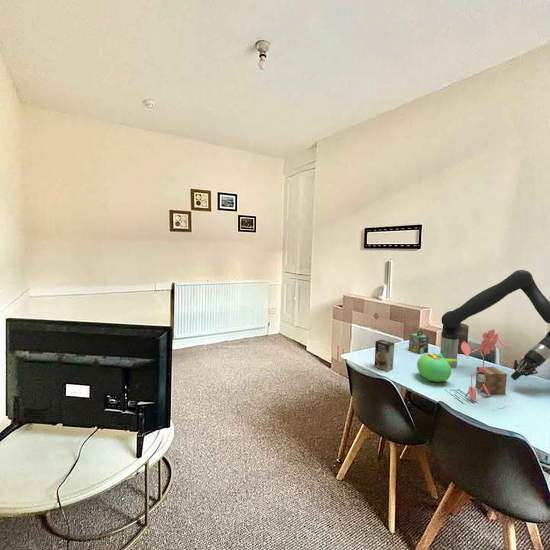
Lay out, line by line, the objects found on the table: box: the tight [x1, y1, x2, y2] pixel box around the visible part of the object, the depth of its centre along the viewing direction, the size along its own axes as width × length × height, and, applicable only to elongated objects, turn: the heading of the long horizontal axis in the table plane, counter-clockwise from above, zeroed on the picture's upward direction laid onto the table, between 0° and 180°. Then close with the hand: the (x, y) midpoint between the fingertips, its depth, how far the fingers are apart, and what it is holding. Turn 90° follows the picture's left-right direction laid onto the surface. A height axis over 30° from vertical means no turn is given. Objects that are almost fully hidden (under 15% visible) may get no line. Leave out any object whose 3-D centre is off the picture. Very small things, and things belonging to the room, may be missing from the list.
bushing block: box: [474, 366, 508, 396], centre depth 160 cm, size 9×9×11 cm
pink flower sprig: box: [456, 328, 508, 410], centre depth 147 cm, size 15×26×35 cm, turn 113°
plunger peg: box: [477, 374, 486, 382], centre depth 160 cm, size 12×6×6 cm, turn 92°
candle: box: [457, 322, 469, 354], centre depth 216 cm, size 8×7×20 cm
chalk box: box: [408, 330, 430, 355], centre depth 218 cm, size 9×9×15 cm
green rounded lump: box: [416, 352, 459, 383], centre depth 172 cm, size 18×17×15 cm
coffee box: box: [374, 339, 395, 373], centre depth 188 cm, size 9×6×16 cm
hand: (512, 378), depth 160 cm, fingers closed
